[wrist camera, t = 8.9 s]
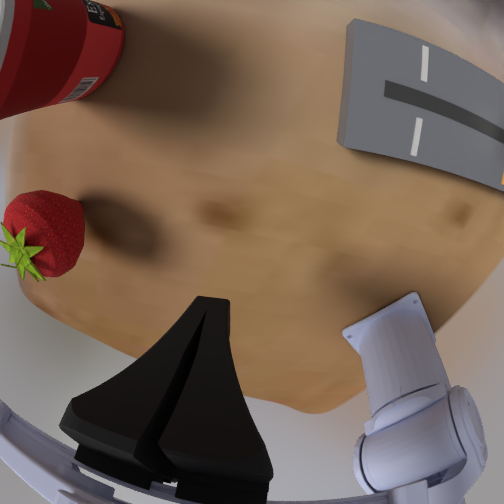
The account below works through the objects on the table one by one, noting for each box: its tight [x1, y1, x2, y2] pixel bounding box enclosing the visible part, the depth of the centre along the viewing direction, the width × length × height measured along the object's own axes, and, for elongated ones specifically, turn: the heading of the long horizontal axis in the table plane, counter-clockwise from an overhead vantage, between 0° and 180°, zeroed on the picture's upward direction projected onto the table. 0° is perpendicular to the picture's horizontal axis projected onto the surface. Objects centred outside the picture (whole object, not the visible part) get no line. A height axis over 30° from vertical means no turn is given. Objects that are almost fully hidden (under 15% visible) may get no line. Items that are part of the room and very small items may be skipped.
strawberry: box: [0, 190, 85, 282], centre depth 16 cm, size 6×8×10 cm
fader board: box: [337, 18, 504, 192], centre depth 12 cm, size 19×8×2 cm, turn 87°
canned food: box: [0, 0, 125, 120], centre depth 8 cm, size 8×8×11 cm
